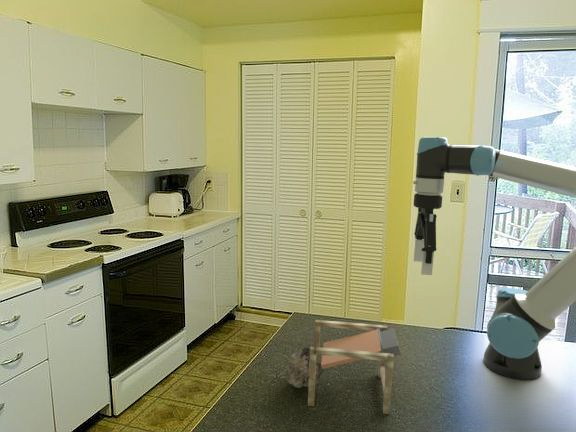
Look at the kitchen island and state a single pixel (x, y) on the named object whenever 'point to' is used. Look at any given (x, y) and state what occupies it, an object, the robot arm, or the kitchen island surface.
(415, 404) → the kitchen island surface
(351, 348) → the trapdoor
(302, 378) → the rock
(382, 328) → the frame
